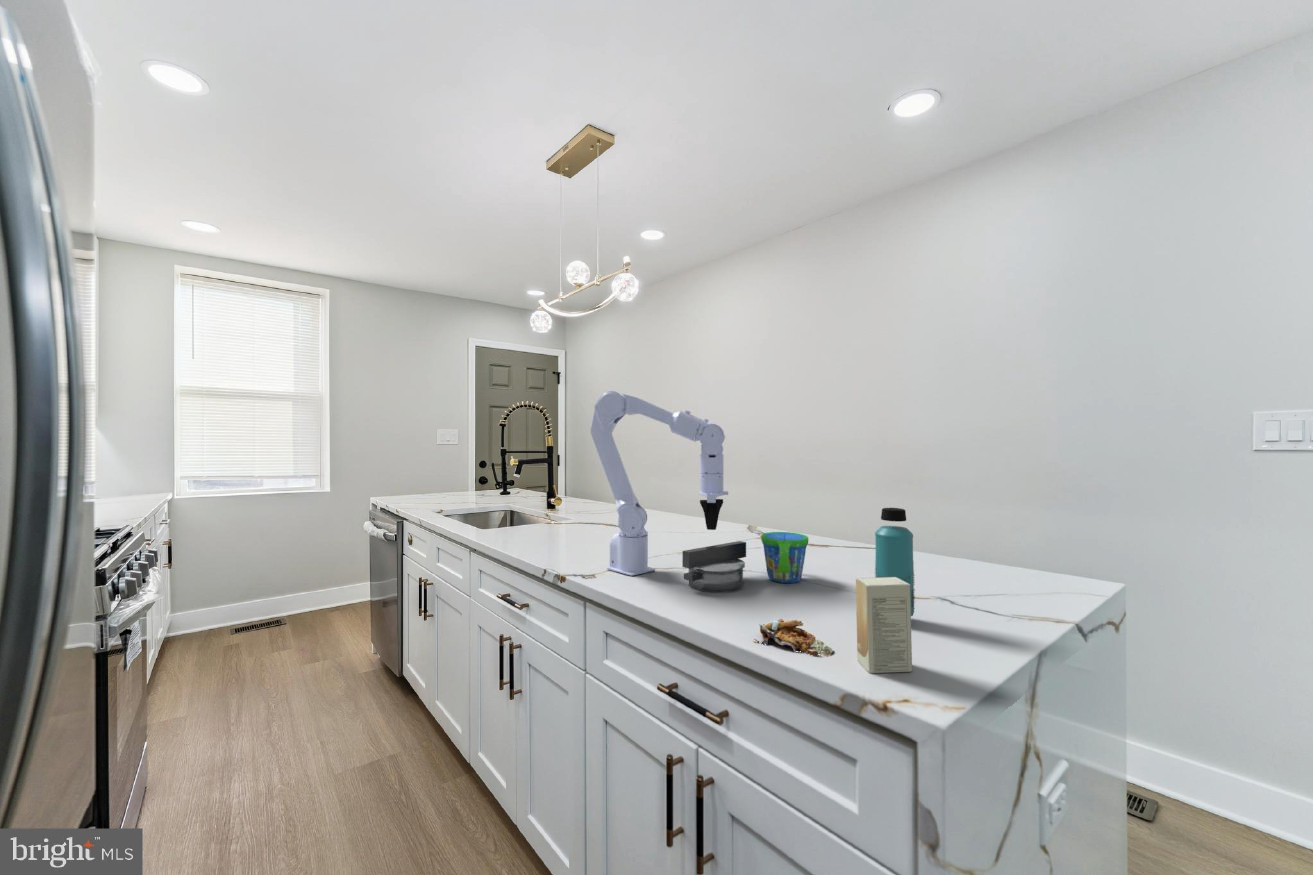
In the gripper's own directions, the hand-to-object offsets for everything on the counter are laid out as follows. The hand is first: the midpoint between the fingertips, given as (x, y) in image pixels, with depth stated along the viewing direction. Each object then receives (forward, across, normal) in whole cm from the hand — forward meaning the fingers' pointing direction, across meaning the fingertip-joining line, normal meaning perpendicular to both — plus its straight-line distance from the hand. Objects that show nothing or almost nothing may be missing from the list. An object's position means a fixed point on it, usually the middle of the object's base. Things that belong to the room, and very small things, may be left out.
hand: (711, 529), depth 130 cm
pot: (+10, -11, -1) cm, 15 cm away
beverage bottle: (+11, -31, -32) cm, 46 cm away
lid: (+6, -11, -1) cm, 13 cm away
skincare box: (+11, -52, -24) cm, 58 cm away
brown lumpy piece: (+11, -44, -13) cm, 48 cm away
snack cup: (+11, -5, -17) cm, 20 cm away
